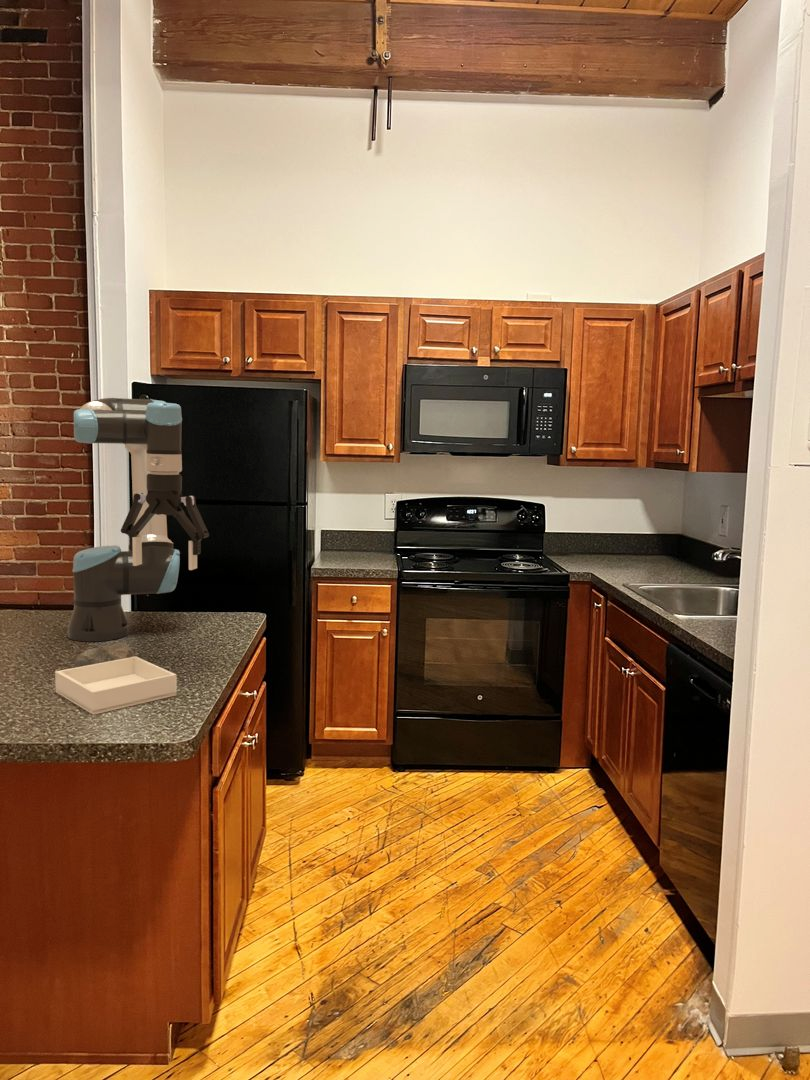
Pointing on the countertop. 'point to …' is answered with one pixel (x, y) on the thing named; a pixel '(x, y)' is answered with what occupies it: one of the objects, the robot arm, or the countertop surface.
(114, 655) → the rock
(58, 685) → the dish
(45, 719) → the countertop surface
